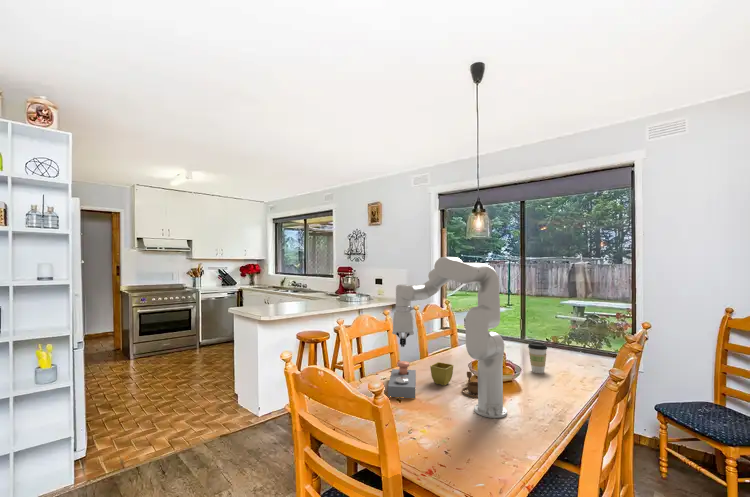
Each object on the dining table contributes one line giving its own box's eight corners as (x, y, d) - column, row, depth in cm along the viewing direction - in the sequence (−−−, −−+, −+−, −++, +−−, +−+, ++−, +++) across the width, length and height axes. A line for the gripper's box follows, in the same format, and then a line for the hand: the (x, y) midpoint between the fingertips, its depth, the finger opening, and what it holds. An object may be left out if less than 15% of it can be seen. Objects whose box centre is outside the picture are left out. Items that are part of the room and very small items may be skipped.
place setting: (451, 394, 162) (451, 381, 162) (466, 382, 179) (466, 370, 179) (490, 403, 152) (490, 389, 153) (502, 389, 169) (502, 376, 169)
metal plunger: (408, 395, 158) (408, 381, 159) (395, 395, 159) (395, 380, 159) (408, 390, 164) (408, 377, 165) (396, 390, 165) (396, 376, 165)
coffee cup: (524, 370, 198) (523, 343, 199) (536, 368, 202) (536, 341, 203) (539, 375, 189) (538, 346, 190) (551, 372, 193) (551, 345, 194)
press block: (415, 399, 155) (415, 387, 155) (387, 397, 156) (387, 386, 157) (415, 379, 181) (415, 370, 181) (392, 379, 182) (392, 369, 183)
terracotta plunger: (409, 377, 172) (409, 364, 173) (397, 377, 173) (397, 364, 173) (409, 373, 178) (409, 361, 179) (397, 373, 179) (397, 360, 179)
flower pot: (446, 388, 169) (446, 368, 170) (429, 384, 174) (429, 365, 175) (454, 383, 176) (453, 364, 177) (438, 379, 181) (438, 361, 182)
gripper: (418, 308, 180) (417, 345, 179) (388, 307, 182) (388, 343, 181) (418, 310, 173) (417, 348, 172) (387, 309, 175) (387, 347, 174)
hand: (402, 346), depth 177 cm, fingers closed
